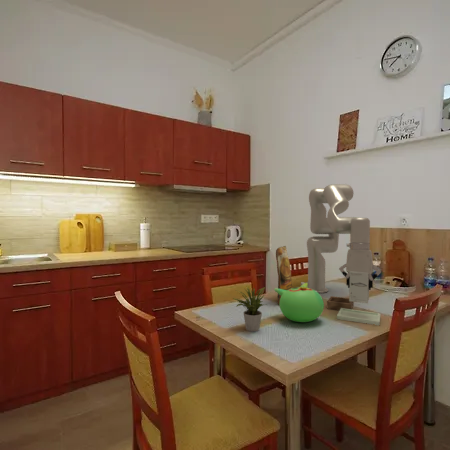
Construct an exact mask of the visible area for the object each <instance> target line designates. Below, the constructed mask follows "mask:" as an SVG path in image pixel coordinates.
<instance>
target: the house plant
mask: <svg viewBox="0 0 450 450" xmlns="http://www.w3.org/2000/svg"><path fill="white" fill-rule="evenodd" d="M252 289H253V290H252ZM252 289H251V290H250V288H249V287H248V286H246V289H245V292H246V294H247V295H246V294H245V293H244V292H242V291H239V290H238V289H236V290H235V291H236V292H238V293H240V294H241V295H242V297H243V298H244V299H245V300H243V299H239V298H236V297H234V298H232V299H233V300H235V301H236V302H237V303H238V304H236V306H235V307H240V306H242V307H244V308H245V310H244V311H243V312H242V313H243V319H244V324H245V325H244V326H245V330H246V331H249V332H258V331H259V330H260V325H261V321H262V316H263V312H262V311H260V310H259V309H260V307H262V306H263V301H262V299H263V298H264V297H265V294H264V291H265V289H266V287H262V288H259V289H258V290H257V291H256V289H255V288H252ZM255 291H256V292H255ZM264 306H268V304H267V303H266V304H264Z"/></svg>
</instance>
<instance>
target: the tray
mask: <svg viewBox="0 0 450 450" xmlns="http://www.w3.org/2000/svg"><path fill="white" fill-rule="evenodd" d="M336 319H337V320H342V321H349V322H353V323H354V322H355V323H361V324H366V323H367V325H373V324H375V325H374V326H379V325H380V323H381V312H380V313H379V312H373V311H367V310H359V309H358V310H357V309H345V308H341V309H340V310H338V313H337V314H336Z"/></svg>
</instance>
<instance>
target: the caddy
mask: <svg viewBox="0 0 450 450" xmlns="http://www.w3.org/2000/svg"><path fill="white" fill-rule="evenodd" d="M354 303H355V302H353V301H349V298H348V297H340V296H333V295H331V296H330V297H329V298H328V300H327V301H326V304H327V305H326V309H327V310H332V311H333V310H334V311H340V309H341V308H345V309H352V310H354V306H355V305H354Z"/></svg>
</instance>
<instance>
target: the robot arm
mask: <svg viewBox="0 0 450 450" xmlns="http://www.w3.org/2000/svg"><path fill="white" fill-rule="evenodd" d="M354 195H355V194H354V189H353V187H352V186H351V184H350V185H349V184H347V183H345V184H344V183H341V184H340V183H339V184H338V183H337V184H335V183H332V184H328V185H325V187H315V188H312V189H311V190H310V191H309V194H308V202H309V207H310V222H309V223H310V225H309V226H310V227H309V228H310V232H311V234H314V236H310V237H309V238H308V239H306V240H307V241H306V248H307V254H308V255H307V261H308V263H307V265H308V266H307V268H308V269H307V281H306V282H304V281H301V282H300V286H302V285H303V284H305V283H308V286H307V288H310V289H313V290H315V291H316V292H318V293H319V294H320V293H321V294H322V293H323V294H324V293H328V291H329V288H327V287H326V259H325V257H324V256H323V254H324V253H326V254H327V253H329V254H330V253H336V252H337V250H338V248H339V242H340V241H339V239H340V238H339V237H340V235H350V237H349V238H350V240H349V243H346V248H347V247H348V248H349V249H348V250H347V253H346V262H345V264H343V265H342V266H339V268H338V270H339V271H340V272H341V274H342V275H343V277H345V279H346V282H345V283H346V286H347V288H348V289H350V271H352V272H364V273H368V274H369V291H371V290H372V289H373V288H374V287H373V283H374V282H373V281H374V280H376V279H377V278H378V276H379V275H380V274H381V273H382V271H381V269H379V268H378V267H377V266H375V265H374V261H373V252H372V250H371V248H370V246H371V244H370V243H371V236H370V235H371V232H370V231H371V228H370V227H371V221H370V219H369V218H367V217H355V216H338V215H341V214H343V213H344V212H346V211H347V210H348V209H349V205H350V203H349V202H350V201H351V200H352V199H353V198H354ZM324 204H328V206H329V209H328V210H327V207H326V206H325V205H324ZM327 211H328V212H327ZM315 235H317V236H315ZM318 235H319V236H318ZM320 235H321V236H320ZM324 235H326V236H324ZM344 269H346V271H345V270H344ZM373 270H374V271H376V272H375V273H374V274H373Z"/></svg>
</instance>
